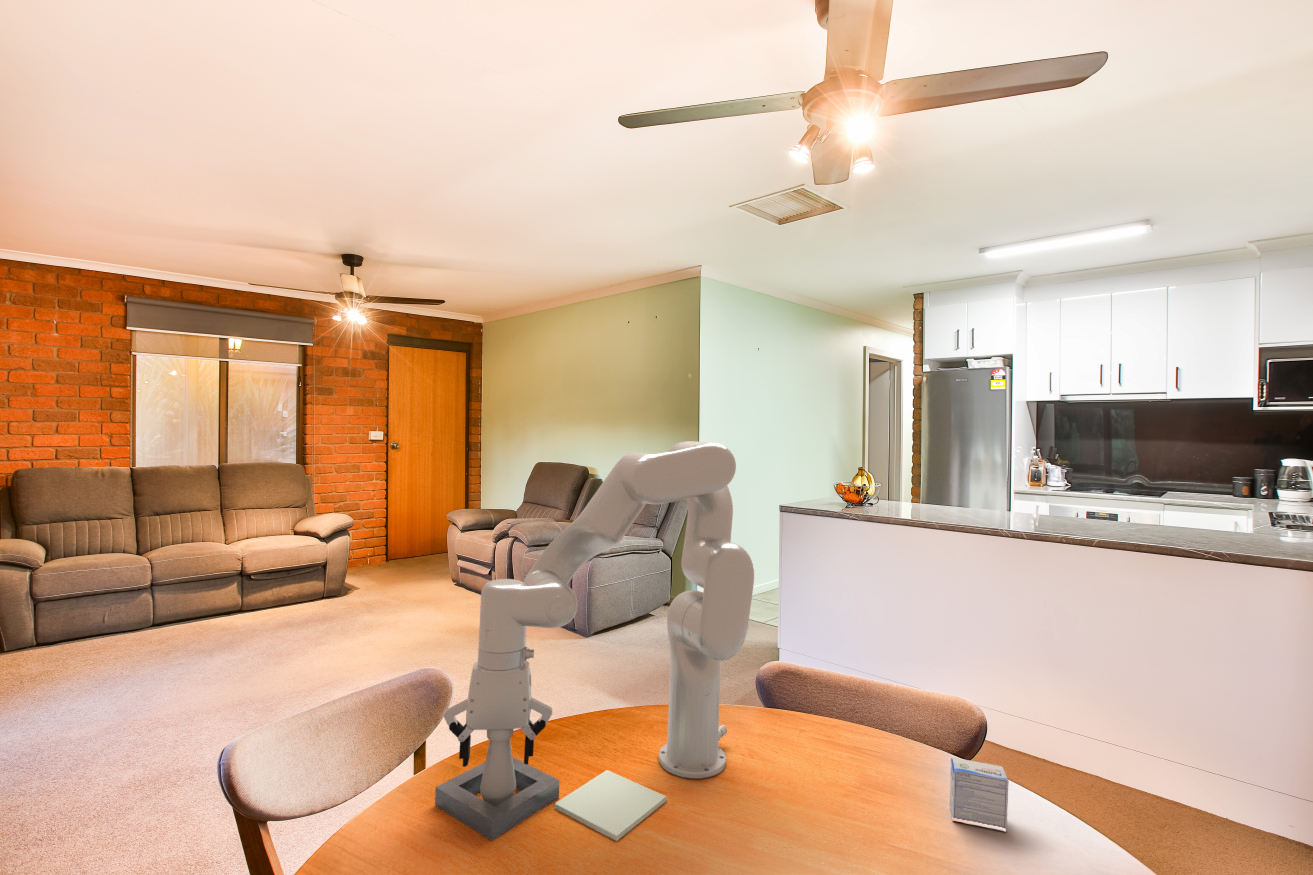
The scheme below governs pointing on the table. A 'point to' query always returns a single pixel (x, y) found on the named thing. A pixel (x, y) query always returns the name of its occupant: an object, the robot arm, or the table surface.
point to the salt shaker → (498, 768)
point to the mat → (610, 804)
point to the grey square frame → (501, 818)
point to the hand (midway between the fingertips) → (496, 761)
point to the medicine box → (978, 792)
